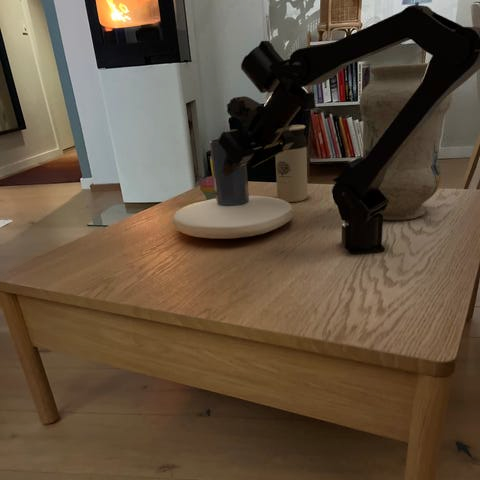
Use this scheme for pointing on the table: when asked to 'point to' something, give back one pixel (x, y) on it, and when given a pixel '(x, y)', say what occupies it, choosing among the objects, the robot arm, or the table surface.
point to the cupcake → (208, 186)
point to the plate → (233, 218)
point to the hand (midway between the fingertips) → (237, 170)
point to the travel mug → (293, 168)
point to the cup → (228, 179)
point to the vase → (419, 147)
